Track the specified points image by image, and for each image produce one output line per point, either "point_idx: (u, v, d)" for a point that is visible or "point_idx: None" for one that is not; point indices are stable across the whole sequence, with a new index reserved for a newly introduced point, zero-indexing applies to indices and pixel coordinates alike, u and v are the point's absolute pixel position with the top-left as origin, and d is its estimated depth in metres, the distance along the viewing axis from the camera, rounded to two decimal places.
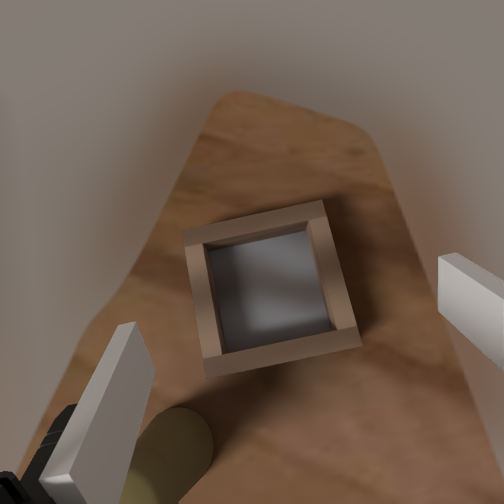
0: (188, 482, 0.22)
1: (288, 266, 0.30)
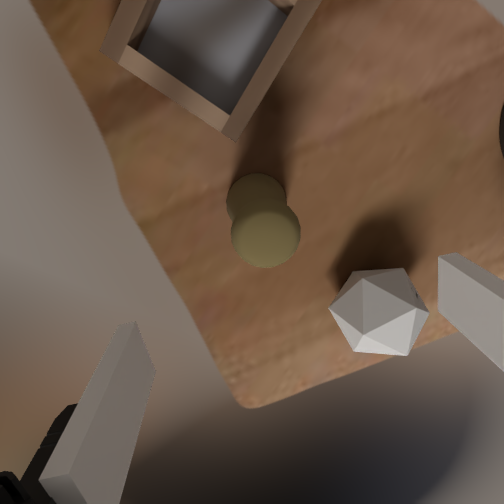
0: (284, 203, 0.29)
1: None
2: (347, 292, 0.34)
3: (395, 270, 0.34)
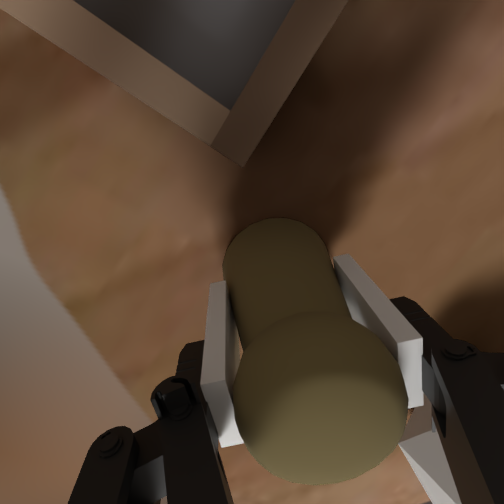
0: (342, 295, 0.14)
1: None
2: None
3: None
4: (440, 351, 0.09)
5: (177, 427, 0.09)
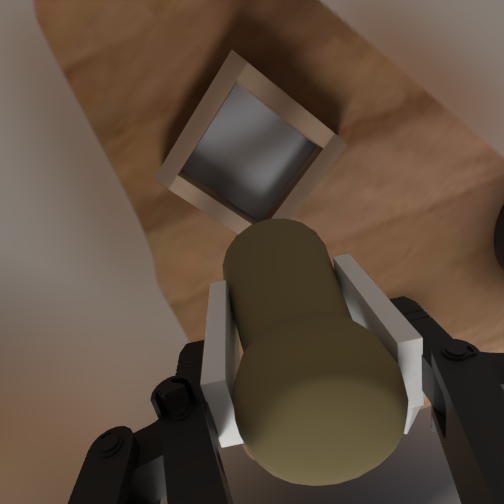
0: (342, 295, 0.14)
1: (248, 126, 0.31)
2: None
3: None
4: (440, 351, 0.09)
5: (177, 427, 0.09)
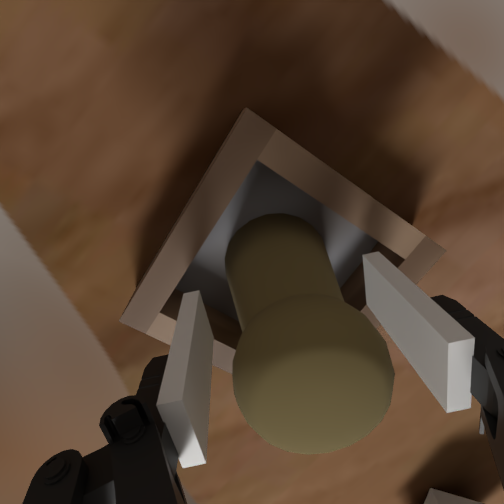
0: (337, 283, 0.15)
1: None
2: None
3: None
4: (495, 351, 0.09)
5: (129, 451, 0.09)
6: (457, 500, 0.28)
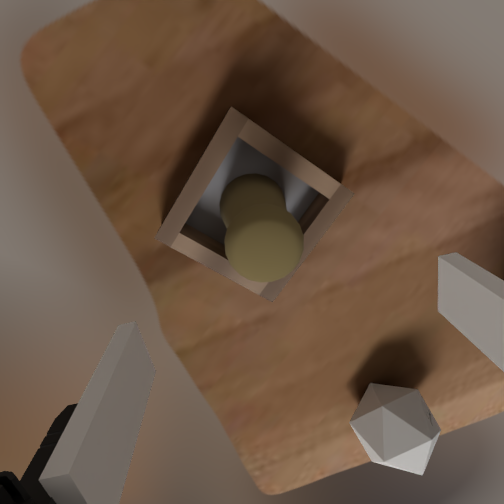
0: (284, 208, 0.25)
1: None
2: (367, 414, 0.37)
3: (410, 393, 0.37)
4: None
5: None
6: (387, 387, 0.39)
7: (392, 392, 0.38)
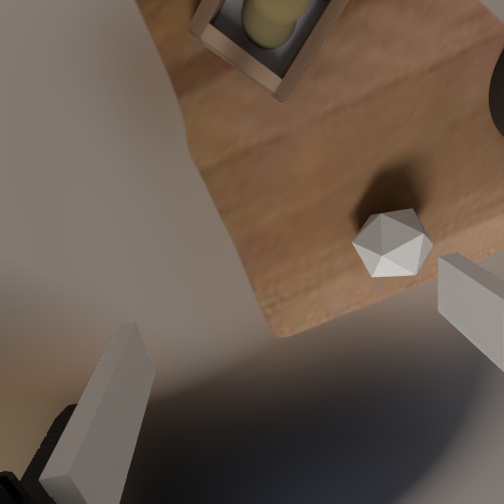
0: None
1: None
2: (368, 226, 0.42)
3: (406, 209, 0.42)
4: None
5: None
6: None
7: None
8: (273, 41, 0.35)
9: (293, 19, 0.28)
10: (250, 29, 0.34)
